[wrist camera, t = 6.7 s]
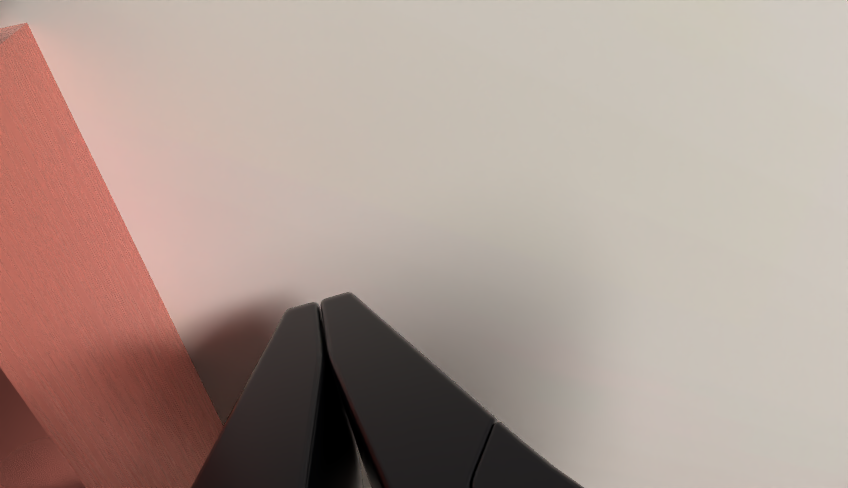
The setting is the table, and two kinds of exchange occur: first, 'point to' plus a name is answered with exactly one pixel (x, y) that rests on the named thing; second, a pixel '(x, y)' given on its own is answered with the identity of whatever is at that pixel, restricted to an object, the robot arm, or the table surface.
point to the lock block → (81, 313)
